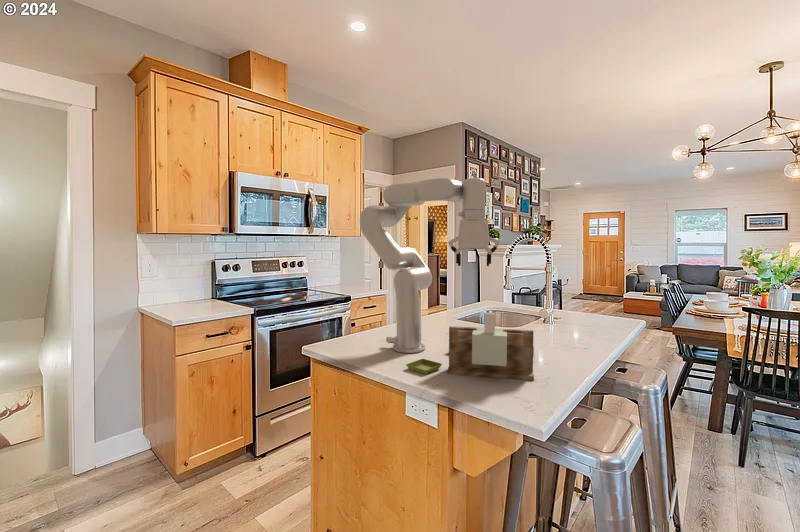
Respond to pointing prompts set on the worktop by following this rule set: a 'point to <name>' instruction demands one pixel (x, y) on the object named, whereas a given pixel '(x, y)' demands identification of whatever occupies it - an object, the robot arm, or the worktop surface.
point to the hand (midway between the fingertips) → (473, 265)
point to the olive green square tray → (424, 366)
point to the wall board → (515, 369)
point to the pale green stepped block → (489, 344)
